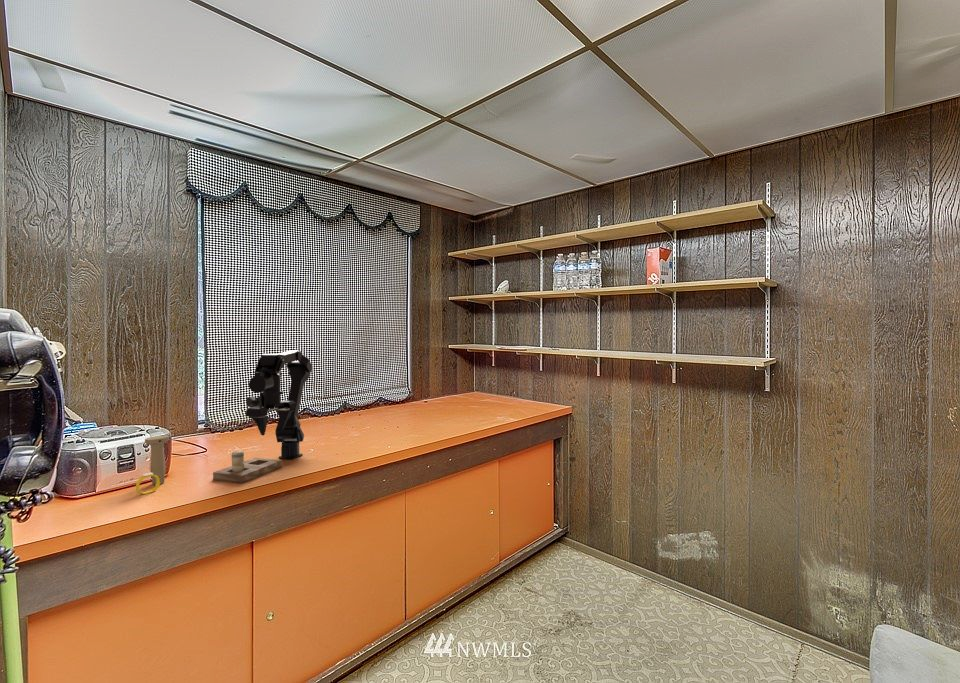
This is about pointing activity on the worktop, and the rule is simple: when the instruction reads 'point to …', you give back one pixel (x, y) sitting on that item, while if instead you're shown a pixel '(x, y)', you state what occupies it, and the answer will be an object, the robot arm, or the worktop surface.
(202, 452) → the worktop surface
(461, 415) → the worktop surface
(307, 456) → the worktop surface
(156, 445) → the handle
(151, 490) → the yellow round part
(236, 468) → the pin
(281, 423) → the robot arm
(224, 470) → the bore block
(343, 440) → the worktop surface
